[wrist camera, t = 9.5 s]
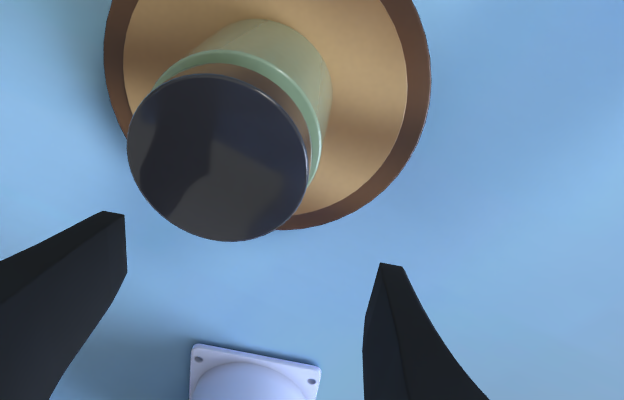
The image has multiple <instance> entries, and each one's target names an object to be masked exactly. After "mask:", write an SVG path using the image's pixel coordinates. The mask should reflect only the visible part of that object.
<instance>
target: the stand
mask: <svg viewBox="0 0 624 400" xmlns="http://www.w3.org/2000/svg"><path fill="white" fill-rule="evenodd" d="M246 19H265V20H271V21H275V22H279V23H281V24H284V25H286V26H289V27H290V28H292V29H294V30H296V31H297V32H299V33H300V34H301V35H303V36H304V37H305V38H307V39H308V40H309V41H310V42H311V43H312V44H313V45H314V47H315V48H316V49H317V50H318V52H319V53H320V55H321V56H322V58H323V60H324V61H325V64H326V66H327V68H328V71H329V74H330V77H331V82H332V88H333V100H332V108H331V113H330V117H329V122H328V126H327V131H326V135H325V140H324V144H323V149H322V153H321V158H320V162H319V166H318V169H317V171H316V174H315V176H314V178H313V180H312V181H311V183H310V185H309V186H308V188H307V189H306V192H305V194H304V197H303V199H302V202H301V203H300V205H299V207H298V208H297V210H296V211H295V212H294V214H293V215H292V216H291V217H290V218H289V219H288V220H287V221H286V222H285V223H284V224H283V225H281V226H280V227H278V228H277V229H275V230H293V229H304V228H309V227H314V226H318V225H323V224H326V223H329V222H332V221H335V220H338V219H340V218H342V217H344V216H346V215H348V214H350V213H353V212H355V211H356V210H358V209H359V208H361V207H363V206H364V205H366V204H367V203H369V202H370V201H372V200H373V199H374V198H375V197H376V196H378V195H379V194H380V193H381V192H382V191H384V190H385V189H386V188H387V187H388V186H389V185H390V183H391V182H392V181H393V180H394V179H395V178H396V177H397V176H398V175H399V173H400V172H401V170H402V169H403V168H404V166H405V165H406V163H407V162H408V161H409V159H410V157H411V155H412V153H413V151H414V149H415V148H416V146H417V144H418V142H419V139H420V136H421V133H422V131H423V128H424V125H425V122H426V117H427V113H428V108H429V104H430V93H431V65H430V55H429V50H428V45H427V40H426V35H425V32H424V29H423V26H422V23H421V21H420V18H419V15H418V12H417V10H416V8H415V6H414V4H413V2H412V0H112V4H111V7H110V11H109V14H108V18H107V22H106V29H105V37H104V70H105V78H106V85H107V89H108V93H109V97H110V101H111V105H112V108H113V110H114V113H115V115H116V118H117V121H118V123H119V125H120V127H121V129H122V131H123V133H124V135H125V137H126V139H127V135H128V130H129V125H130V122H131V120H132V117H133V115H134V113H135V111H136V109H137V107H138V106H139V104H140V103H141V102H142V101H143V99H144V98H145V97H146V96H147V95H148V94H149V93H150V92H151V90H152V88H153V86H154V85H155V83H156V82H157V80H158V79H159V78H160V76H161V75H162V74H163V73H164V72H165V71H166V70H167V69H168V68H169V67H170V66H172V65H173V64H174V63H176V62H177V61H178V60H180V59H181V58H182V57H183V56H185V55H186V54H187V53H189V52H190V51H191V50H193V49H194V48H195V47H197V46H198V45H199V44H200V43H202V42H203V41H204V40H206V39H207V38H208V37H210V36H211V35H212V34H213V33H215V32H216V31H218V30H219V29H221V28H222V27H224V26H226V25H228V24H230V23H234V22H237V21H240V20H246Z"/></svg>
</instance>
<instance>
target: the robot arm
mask: <svg viewBox="0 0 624 400" xmlns="http://www.w3.org/2000/svg"><path fill="white" fill-rule="evenodd" d="M126 274H127V257H126V238H125V218H124V215H123V214H117V213H112V212H107V211H102V212H99V213H97V214H95V215H93V216H91V217H89V218H87V219H85V220H83V221H81V222H79V223H77V224H75V225H74V226H72V227H70V228H68V229H66V230H64V231H62V232H60V233H58V234H56V235H54V236H52V237H50V238H48V239H46V240H44V241H43V242H41V243H39V244H36V245H34V246H32V247H30V248H28V249H26V250H24V251H21V252H19V253H17V254H15V255H13V256H11V257H8V258H6V259H4V260H2V261H0V400H49V398H50V396H51V394H52V393H53V391H54V389H55V387H56V385H57V384H58V382H59V380H60V379H61V377H62V375H63V374H64V372H65V371H66V369H67V367H68V366H69V365H70V363H71V362H72V360H73V359H74V357H75V356H76V354H77V353H78V352H79V350H80V349H81V347H82V346H83V344H84V343H85V342H86V340H87V339H88V337H89V336H90V334H91V333H92V331H93V330H94V329H95V327H96V326H97V324H98V323H99V321H100V320H101V318H102V317H103V315H104V314H105V313H106V311H107V310H108V308H109V307H110V305H111V304H112V302H113V300H114V298H115V296H116V294H117V292H118V290H119V288H120V286H121V284H122V282H123V280H124V278H125V276H126ZM362 353H363V380H364V400H489V399H488V398H487V396H486V395H485V394H484V393H483V392H482V391H481V390H480V389H479V388H478V387H477V385H476V384H475V383H474V382H473V381H472V380H471V378H470V377H469V376H468V375H467V374H466V372H465V371H464V370H463V369H462V367H461V366H460V365H459V363H458V362H457V361H456V359H455V358H454V357H453V355H452V354H451V352H450V351H449V350H448V348H447V347H446V345H445V344H444V342H443V340H442V339H441V337H440V336H439V334H438V333H437V331H436V329H435V328H434V326H433V325H432V323H431V321H430V319H429V318H428V316H427V314H426V312H425V311H424V309H423V307H422V305H421V303H420V301H419V299H418V297H417V295H416V293H415V291H414V289H413V287H412V285H411V283H410V281H409V279H408V277H407V275H406V272H405V270H404V269H403V267H402V266H396V265H391V264H385V263H380V264H379V268H378V272H377V275H376V279H375V283H374V286H373V290H372V294H371V297H370V301H369V304H368V308H367V312H366V315H365V323H364V335H363V349H362ZM200 357H201V358H200ZM320 379H321V369H320V368H318V367H317V366H313V365H308V364H303V363H298V362H293V361H287V360H282V359H277V358H272V357H267V356H262V355H257V354H251V353H246V352H241V351H236V350H231V349H226V348H220V347H215V346H210V345H205V344H195V345H194V346H193V347H192V350H191V362H190V387H189V400H316V395H317V391H318V387H319V383H320Z"/></svg>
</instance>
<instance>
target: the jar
mask: <svg viewBox="0 0 624 400" xmlns="http://www.w3.org/2000/svg"><path fill="white" fill-rule="evenodd" d="M332 100H333V88H332V82H331V77H330V74H329V71H328V68H327V66H326V64H325V61H324V60H323V58H322V56H321V55H320V53H319V52H318V50H317V49H316V48H315V47H314V45H313V44H312V43H311V42H310V41H309V40H308V39H307V38H305V37H304V36H303V35H301V34H300V33H299V32H297V31H296V30H294V29H292V28H290V27H289V26H286V25H284V24H281V23H279V22H275V21H271V20H265V19H246V20H240V21H237V22H234V23H230V24H228V25H226V26H224V27H222V28H221V29H219V30H218V31H216V32H215V33H213V34H212V35H211V36H210V37H208V38H207V39H206V40H204V41H203V42H202V43H200V44H199V45H198V46H197V47H195V48H194V49H193V50H191V51H190V52H189V53H187V54H186V55H185V56H183V57H182V58H181V59H180V60H178V61H177V62H176V63H174V64H173V65H172V66H170V67H169V68H168V69H167V70H166V71H165V72H164V73H163V74H162V75H161V76H160V78H159V79H158V80H157V82H156V83H155V85H154V86H153V88H152V90H151V92H150V93H149V94H148V95H147V96H146V97H145V98H144V99H143V101H142V102H141V103H140V104H139V106H138V107H137V109H136V111H135V113H134V115H133V117H132V120H131V122H130V125H129V130H128V135H127V155H128V162H129V166H130V170H131V173H132V175H133V178H134V180H135V182H136V184H137V186H138V188H139V190H140V191H141V193H142V194H143V196H144V197H145V199H146V200H147V201H148V202H149V204H150V205H151V206H152V207H153V208H154V209H155V210H156V211H157V212H158V213H159V214H160V215H161V216H162V217H164V218H165V219H166V220H168V221H169V222H170V223H172V224H174V225H175V226H177V227H179V228H180V229H182V230H184V231H186V232H188V233H191V234H193V235H196V236H199V237H202V238H206V239H210V240H216V241H224V242H236V241H246V240H251V239H255V238H258V237H261V236H264V235H266V234H268V233H270V232H272V231H274V230H275V229H277V228H278V227H280V226H281V225H283V224H284V223H285V222H286V221H287V220H288V219H289V218H290V217H291V216H292V215H293V214H294V212H295V211H296V210H297V208H298V207H299V205H300V203H301V202H302V199H303V197H304V194H305V192H306V189H307V188H308V186H309V185H310V183H311V181H312V180H313V178H314V176H315V174H316V171H317V169H318V166H319V162H320V158H321V153H322V149H323V144H324V140H325V135H326V131H327V126H328V122H329V117H330V113H331V108H332Z"/></svg>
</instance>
